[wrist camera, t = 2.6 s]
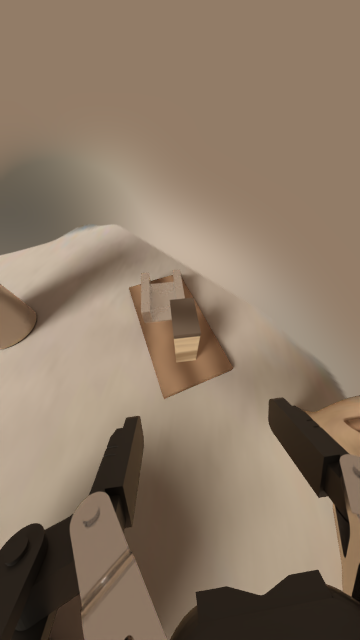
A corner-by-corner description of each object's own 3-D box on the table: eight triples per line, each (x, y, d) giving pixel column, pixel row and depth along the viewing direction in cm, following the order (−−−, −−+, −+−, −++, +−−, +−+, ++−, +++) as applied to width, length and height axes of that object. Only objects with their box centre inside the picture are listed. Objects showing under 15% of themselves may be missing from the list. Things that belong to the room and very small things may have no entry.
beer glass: (297, 395, 24) (423, 362, 12) (347, 443, 21) (591, 469, 9) (266, 430, 22) (379, 437, 9) (317, 489, 19) (583, 614, 6)
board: (164, 398, 24) (163, 397, 23) (130, 291, 35) (128, 287, 34) (231, 370, 26) (233, 367, 25) (179, 277, 37) (179, 273, 36)
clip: (186, 318, 30) (186, 307, 27) (144, 323, 30) (141, 312, 27) (180, 282, 35) (180, 269, 32) (144, 285, 34) (141, 273, 32)
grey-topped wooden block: (195, 360, 26) (200, 332, 18) (176, 362, 26) (173, 335, 18) (190, 331, 29) (193, 297, 21) (173, 333, 29) (169, 299, 21)
